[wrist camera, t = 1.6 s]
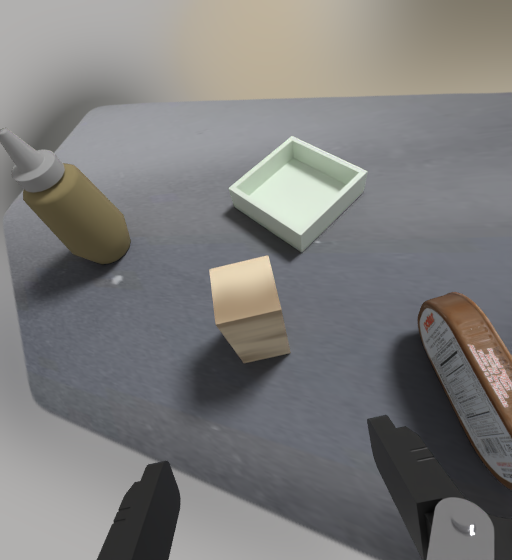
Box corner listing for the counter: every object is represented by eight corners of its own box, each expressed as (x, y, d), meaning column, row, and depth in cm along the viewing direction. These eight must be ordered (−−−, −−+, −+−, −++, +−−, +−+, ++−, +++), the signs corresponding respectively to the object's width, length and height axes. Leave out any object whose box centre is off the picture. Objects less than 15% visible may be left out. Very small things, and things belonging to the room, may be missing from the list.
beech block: (237, 320, 35) (209, 269, 26) (280, 310, 35) (268, 255, 26) (243, 363, 33) (215, 324, 23) (290, 353, 33) (281, 309, 23)
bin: (293, 156, 47) (291, 135, 44) (363, 192, 42) (367, 171, 39) (234, 206, 44) (228, 188, 41) (301, 252, 38) (300, 235, 35)
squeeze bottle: (126, 215, 47) (33, 94, 31) (148, 249, 43) (54, 129, 27) (76, 245, 45) (-47, 134, 30) (94, 283, 41) (-36, 177, 26)
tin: (527, 486, 24) (616, 497, 17) (487, 495, 25) (558, 509, 17) (433, 314, 32) (468, 272, 25) (403, 321, 32) (428, 282, 25)
